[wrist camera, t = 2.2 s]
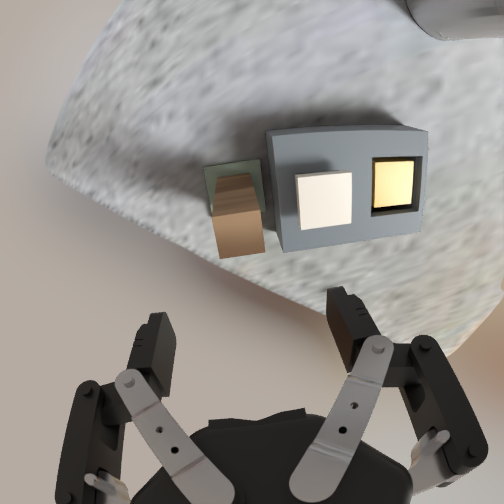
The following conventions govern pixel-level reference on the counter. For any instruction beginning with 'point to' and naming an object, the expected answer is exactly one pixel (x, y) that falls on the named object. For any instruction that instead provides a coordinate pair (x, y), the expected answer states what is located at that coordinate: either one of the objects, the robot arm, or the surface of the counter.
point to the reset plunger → (391, 181)
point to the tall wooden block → (237, 217)
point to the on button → (324, 199)
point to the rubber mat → (235, 169)
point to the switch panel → (360, 165)
